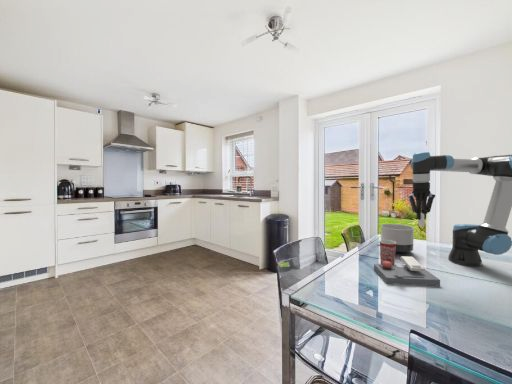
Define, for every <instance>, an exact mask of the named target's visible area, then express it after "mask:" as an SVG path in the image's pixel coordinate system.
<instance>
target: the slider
mask: <svg viewBox="0 0 512 384" xmlns="http://www.w3.org/2000/svg"><path fill="white" fill-rule="evenodd" d="M395 265H396V275H397V276H398V277H403V273H404V267H403V266H402V265H403V264H395Z"/></svg>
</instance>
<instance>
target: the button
mask: <svg viewBox="0 0 512 384" xmlns="http://www.w3.org/2000/svg"><path fill="white" fill-rule="evenodd" d="M381 264H382V266H383V267H384V268H392V263H391V262H389V261H383V262H382V263H381Z"/></svg>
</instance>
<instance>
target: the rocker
mask: <svg viewBox="0 0 512 384" xmlns="http://www.w3.org/2000/svg"><path fill="white" fill-rule="evenodd" d="M400 260H401V261H402V262H403V264H404V265H406V266H407V267H408V268H409V269H410V270H411V271H424V269H425V268H424V266H422V264H421V263H420V262H418V261H417V259H416V258H414V256H400Z"/></svg>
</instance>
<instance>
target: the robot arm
mask: <svg viewBox="0 0 512 384" xmlns="http://www.w3.org/2000/svg"><path fill="white" fill-rule="evenodd" d="M410 167H411V169H412V192H411V194H408V195H407V199H409V203H410V206H411V210H412V212H413V213H415V214H416V219H417V220H418V226H419V227H425V220H427V214H428V213H430V212H431V209H432V205H433V202H434V199H435V198H436V194H433V193H431V190H430V189H431V183H430V181H431V172H433V171H435V172H453V173H455V172H457V173H459V172H460V173H469V174H471V175H478V176H479V175H480V176H487V177H492V178H493V180H494V181H495V183H494V186H493V189H492V193H491V196H490V200H489V203H488V205H487V209H486V213H485V216H484V219H483V222H482V223H480V224H474V223H473V224H469V223H468V224H467V223H466V224H465V223H462V224H461V223H456V224H454V225H453V229H452V248H451V250H450V252H449V254H448V256H447V257H448V259H447V260H448V261H450V262H451V263H453V264H457V265H462V266H466V267H481V266H482V265H483V261H482V258H481V255H480V252H479V251H481V252H484V253H486V254H492V255H497V256H499V255H503V254H505V253H507V252H509V251H510V249H511V248H512V238H511V237H510V235H508V234H509V230H508V229H507V223H508V221H509V218H510V215H511V211H512V154H504V155H502V154H501V155H493V156H484V157H473V158H469V159H468V158H454V157H453V156H452V155H449V154H447V155H446V154H444V155H431V152H427V151H424V152H416V153H413V155H412V160H411V162H410Z"/></svg>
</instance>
